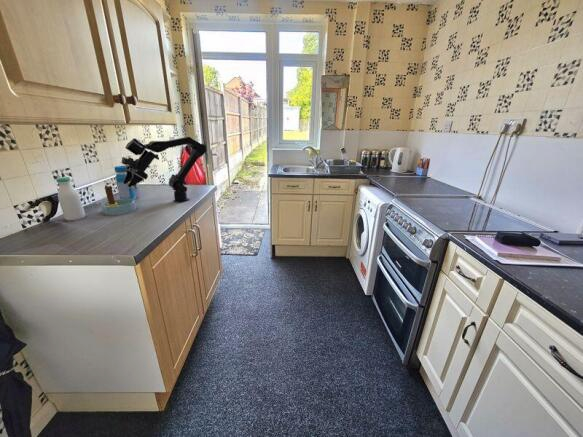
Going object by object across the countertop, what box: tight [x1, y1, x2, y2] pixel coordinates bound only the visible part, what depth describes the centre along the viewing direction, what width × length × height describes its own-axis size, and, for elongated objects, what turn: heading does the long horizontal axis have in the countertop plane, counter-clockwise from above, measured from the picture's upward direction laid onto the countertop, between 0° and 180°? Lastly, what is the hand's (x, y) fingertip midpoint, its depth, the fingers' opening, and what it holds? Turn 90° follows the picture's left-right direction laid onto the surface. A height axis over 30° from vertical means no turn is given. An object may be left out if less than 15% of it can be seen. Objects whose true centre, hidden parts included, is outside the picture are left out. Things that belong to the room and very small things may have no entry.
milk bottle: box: [56, 176, 86, 221], centre depth 116 cm, size 8×8×20 cm
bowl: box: [100, 198, 137, 216], centre depth 130 cm, size 15×15×5 cm
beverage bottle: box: [114, 165, 137, 200], centre depth 148 cm, size 8×8×20 cm
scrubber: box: [104, 185, 118, 206], centre depth 127 cm, size 4×4×13 cm
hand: (126, 185), depth 128 cm, fingers open, 9 cm apart
